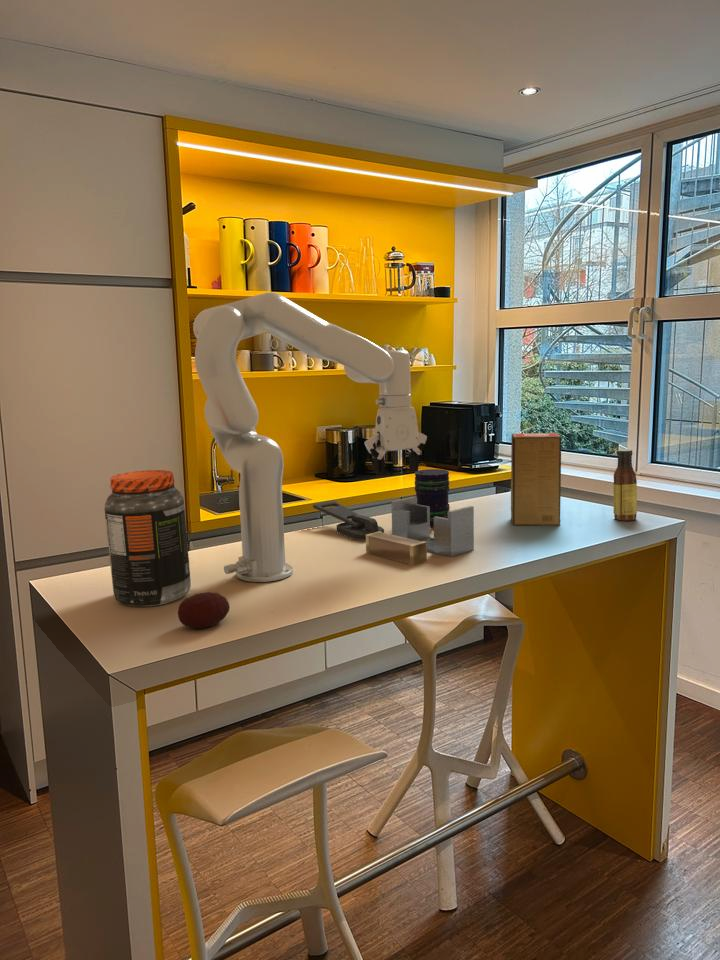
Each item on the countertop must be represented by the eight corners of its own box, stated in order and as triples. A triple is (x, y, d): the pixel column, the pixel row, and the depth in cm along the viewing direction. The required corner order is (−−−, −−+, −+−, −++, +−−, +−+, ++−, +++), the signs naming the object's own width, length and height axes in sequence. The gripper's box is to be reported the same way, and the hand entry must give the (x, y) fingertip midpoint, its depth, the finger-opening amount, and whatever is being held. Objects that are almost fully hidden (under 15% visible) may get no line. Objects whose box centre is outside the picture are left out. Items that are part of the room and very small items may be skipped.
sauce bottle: (640, 518, 210) (642, 449, 206) (631, 522, 205) (633, 452, 202) (617, 515, 214) (619, 447, 211) (608, 519, 209) (610, 450, 206)
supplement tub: (172, 579, 165) (163, 465, 161) (204, 596, 153) (196, 473, 148) (101, 595, 155) (90, 474, 151) (130, 615, 143) (118, 484, 139)
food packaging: (556, 518, 213) (558, 432, 209) (561, 525, 204) (562, 436, 200) (510, 518, 215) (510, 432, 211) (512, 525, 206) (512, 436, 201)
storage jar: (447, 518, 217) (446, 468, 214) (452, 526, 207) (452, 474, 204) (413, 520, 216) (412, 469, 214) (417, 527, 207) (416, 475, 204)
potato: (171, 627, 136) (169, 595, 135) (220, 613, 143) (218, 583, 141) (189, 638, 131) (187, 604, 130) (239, 623, 137) (237, 591, 136)
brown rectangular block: (413, 565, 171) (412, 545, 170) (366, 553, 182) (365, 534, 181) (426, 561, 174) (426, 542, 173) (379, 549, 185) (379, 531, 185)
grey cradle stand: (451, 557, 176) (450, 512, 175) (392, 542, 191) (391, 501, 189) (473, 549, 182) (473, 506, 180) (414, 536, 197) (414, 496, 195)
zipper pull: (335, 499, 217) (388, 512, 197) (335, 521, 218) (389, 537, 198) (309, 504, 211) (361, 518, 191) (310, 526, 212) (362, 542, 193)
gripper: (372, 405, 169) (374, 479, 172) (433, 400, 178) (435, 470, 181) (356, 404, 176) (358, 474, 179) (416, 399, 184) (417, 467, 187)
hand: (397, 472), depth 180 cm, fingers open, 9 cm apart
